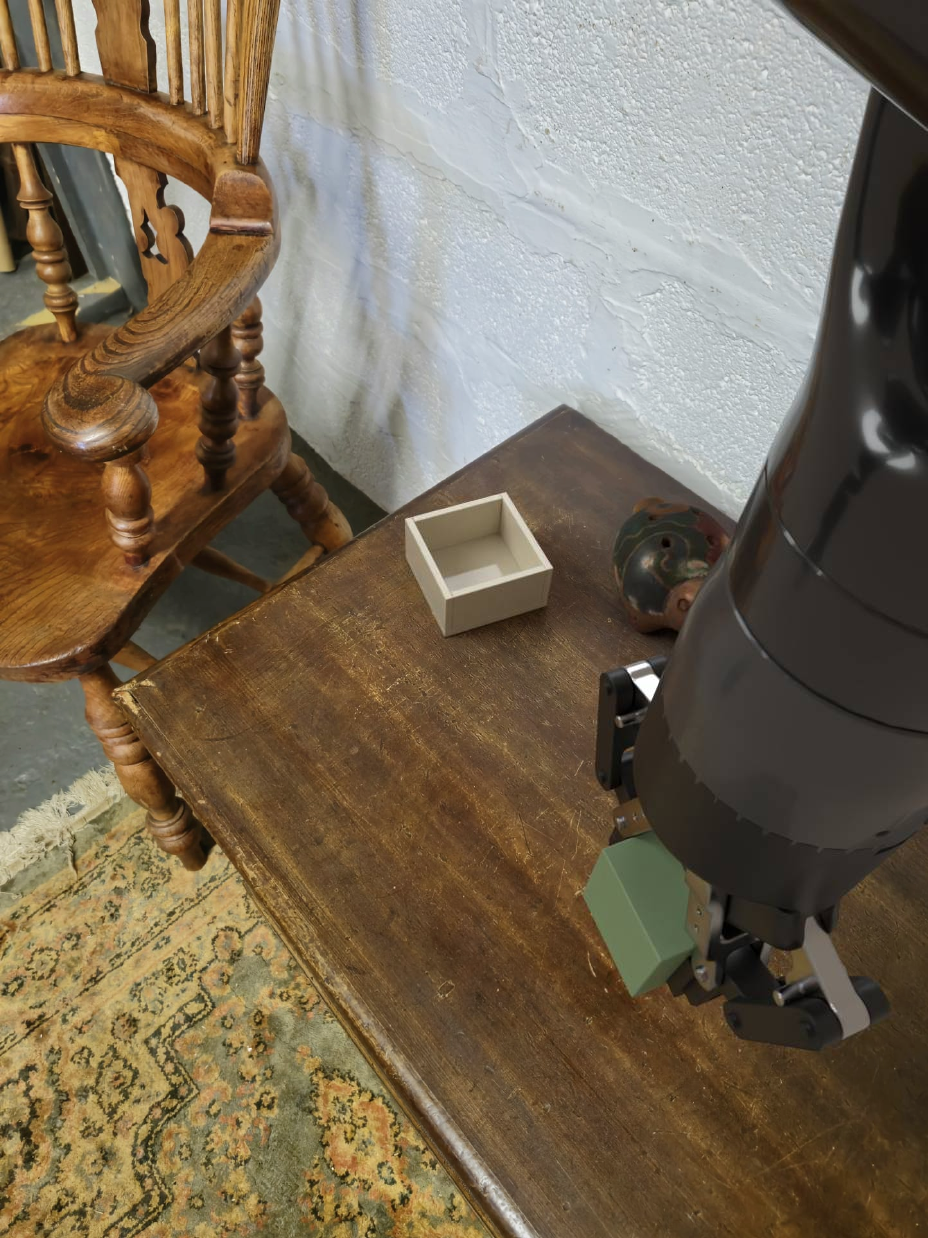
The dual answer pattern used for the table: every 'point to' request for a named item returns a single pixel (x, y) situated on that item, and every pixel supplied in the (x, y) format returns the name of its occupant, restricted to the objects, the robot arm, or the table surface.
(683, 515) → the decorative turtle
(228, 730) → the table surface
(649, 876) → the green box
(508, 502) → the open square box
